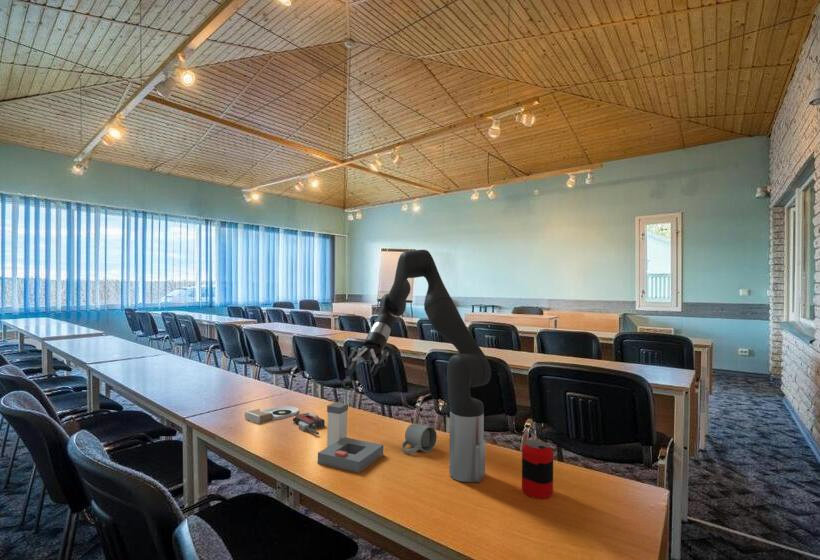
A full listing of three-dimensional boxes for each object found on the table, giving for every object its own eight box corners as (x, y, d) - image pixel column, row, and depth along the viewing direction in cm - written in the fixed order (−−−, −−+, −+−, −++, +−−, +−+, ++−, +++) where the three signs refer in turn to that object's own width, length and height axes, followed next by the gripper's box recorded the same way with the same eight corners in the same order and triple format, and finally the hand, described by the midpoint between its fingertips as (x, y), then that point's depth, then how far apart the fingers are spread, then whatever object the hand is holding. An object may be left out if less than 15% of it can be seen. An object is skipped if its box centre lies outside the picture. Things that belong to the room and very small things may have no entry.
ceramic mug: (419, 441, 138) (418, 418, 138) (437, 448, 132) (437, 424, 132) (395, 450, 130) (395, 426, 131) (414, 458, 125) (414, 432, 125)
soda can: (532, 501, 100) (533, 451, 100) (516, 486, 107) (516, 440, 107) (559, 497, 102) (559, 448, 102) (541, 483, 109) (541, 437, 110)
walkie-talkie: (287, 424, 155) (315, 438, 140) (287, 412, 155) (315, 425, 140) (308, 419, 161) (337, 432, 146) (308, 407, 161) (337, 420, 146)
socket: (383, 454, 127) (383, 442, 127) (358, 472, 114) (359, 459, 114) (344, 446, 132) (345, 434, 133) (317, 463, 120) (317, 450, 120)
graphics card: (243, 410, 160) (287, 401, 175) (243, 419, 160) (287, 408, 175) (260, 417, 153) (304, 406, 168) (259, 425, 152) (304, 413, 168)
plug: (347, 443, 135) (348, 403, 135) (338, 449, 131) (339, 407, 131) (335, 441, 137) (335, 402, 137) (326, 446, 133) (327, 405, 133)
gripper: (358, 329, 155) (339, 365, 145) (391, 332, 149) (375, 369, 139) (365, 341, 160) (347, 377, 150) (397, 345, 154) (382, 382, 144)
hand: (361, 373), depth 144 cm, fingers open, 8 cm apart
